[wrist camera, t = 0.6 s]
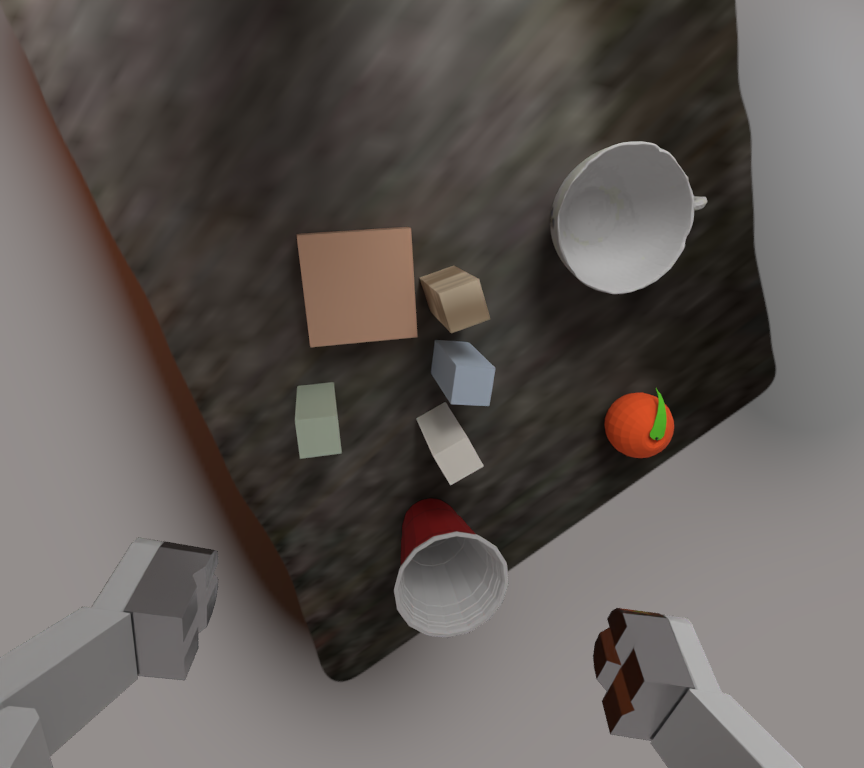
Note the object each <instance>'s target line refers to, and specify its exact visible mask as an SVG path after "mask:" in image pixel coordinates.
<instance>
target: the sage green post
mask: <svg viewBox="0 0 864 768" xmlns="http://www.w3.org/2000/svg"><path fill="white" fill-rule="evenodd" d="M295 426H296V433H297V440H298V448H299V455H300V459H302V458H310V457H317V456H325V455H333V454H341V453H342V452H341V443H340V434H339V425H338V416H337V407H336V398H335V389H334V382H330V383H320V384H311V385H302V386H297V397H296V411H295Z"/></svg>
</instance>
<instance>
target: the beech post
mask: <svg viewBox="0 0 864 768" xmlns="http://www.w3.org/2000/svg"><path fill="white" fill-rule="evenodd" d="M420 281H421V284H422V287H423V290H424V293H425V296H426V299H427V302H428V305H429V309H430V312H431V313H432V314H433V315H434V316H435V317H436V318H437V319H438V320H439V321H440V322H441V323H442V324H443V325H444V326H445V327H446V328H447V329H448V330H449V332H450V333H454V332H456V331H459V330H462V329H465V328H467V327H470V326H473V325H476V324H478V323H481V322H484V321H486V320H489V319H490V316H489V312H488V309H487V305H486V302H485V298H484V295H483V291H482V288H481V284H480V281H479V279H478V278H476V277H474V276H472V275H470V274H468V273H467V272H465V271H463V270H461V269H459V268H457V267H455V266H451V267H448V268H446V269H443V270H440V271H437V272H434V273H432V274H429V275H426V276H423V277H420Z"/></svg>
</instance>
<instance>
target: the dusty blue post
mask: <svg viewBox="0 0 864 768" xmlns="http://www.w3.org/2000/svg"><path fill="white" fill-rule="evenodd" d="M431 374H432V376H433V377H434V379H435V380H436V382H437V384H438V385H439V387H440V388H441V390H442V391H443V393H444V394H445V396H446V397H447V399H448V401H449V402H450V404H457V405H477V406H489V405H490V399H491V393H492V387H493V380H494V374H495V367H494V366H493V365H492V364H491V363H490V362H489V361H488V360H487V359H486V358H485V357H484V356H483V355H482V354H481V353H480V352H478V351H477V350H476V349H475V348H474V347H473V346H472V345H471V344H470V343H469V342H459V341H446V340H435V345H434V352H433V360H432V368H431Z"/></svg>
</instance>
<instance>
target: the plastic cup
mask: <svg viewBox="0 0 864 768" xmlns="http://www.w3.org/2000/svg"><path fill="white" fill-rule="evenodd" d="M508 584H509V581H508V571H507V563H506V561H505V560H504V558H503V557H502V555H501V553H500V552H499V550H498V548H497V547H496V546H495V545H493V544H491V543H490V542H488V541H487V540H485V539H483V538H482V537H480V536H479V535H476V534H475V533H474V532H473V531H472V530H471V528H470V527H469V526H468V525H467V524H466V523H465V522H464V520H463V519H462V518H461V517H460V516H459V515H457V514H456V512H455V511H454V510H453V509H452V507H451V506H449V505H448V504H446V503H445V502H443V501H441V500H438V499H432V498H430V499H425V500H421V501H419V502H417V503H415V504H414V505H412V506H411V508H410V509H409V510H408V511H407V512H406V515H405V518H404V521H403V525H402V539H401V566H400V569H399V573H398V576H397V580H396V584H395V587H394V593H395V599H396V605H397V610H398V611H399V613H400V614H401V616H402V617H403V618H404V620H405V621H406V623H407V624H408V625H409V626H410V627H412V628H414V629H416V630H418V631H419V632H421V633H423V634H425V635H427V636H436V637H446V638H449V637H453V636H457V635H461V634H465V633H469V632H471V631H473V630H474V629H476V628H477V627H479V626H480V625H482V624H483V623H485V622H487V621H488V620H489V619H490V618H491V617H492V615H493V614H494V613H495V612H496V610H497V609H498V608H499V607H500V605H501V604H502V602H503V599H504V596H505V593H506V590H507V587H508Z"/></svg>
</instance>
